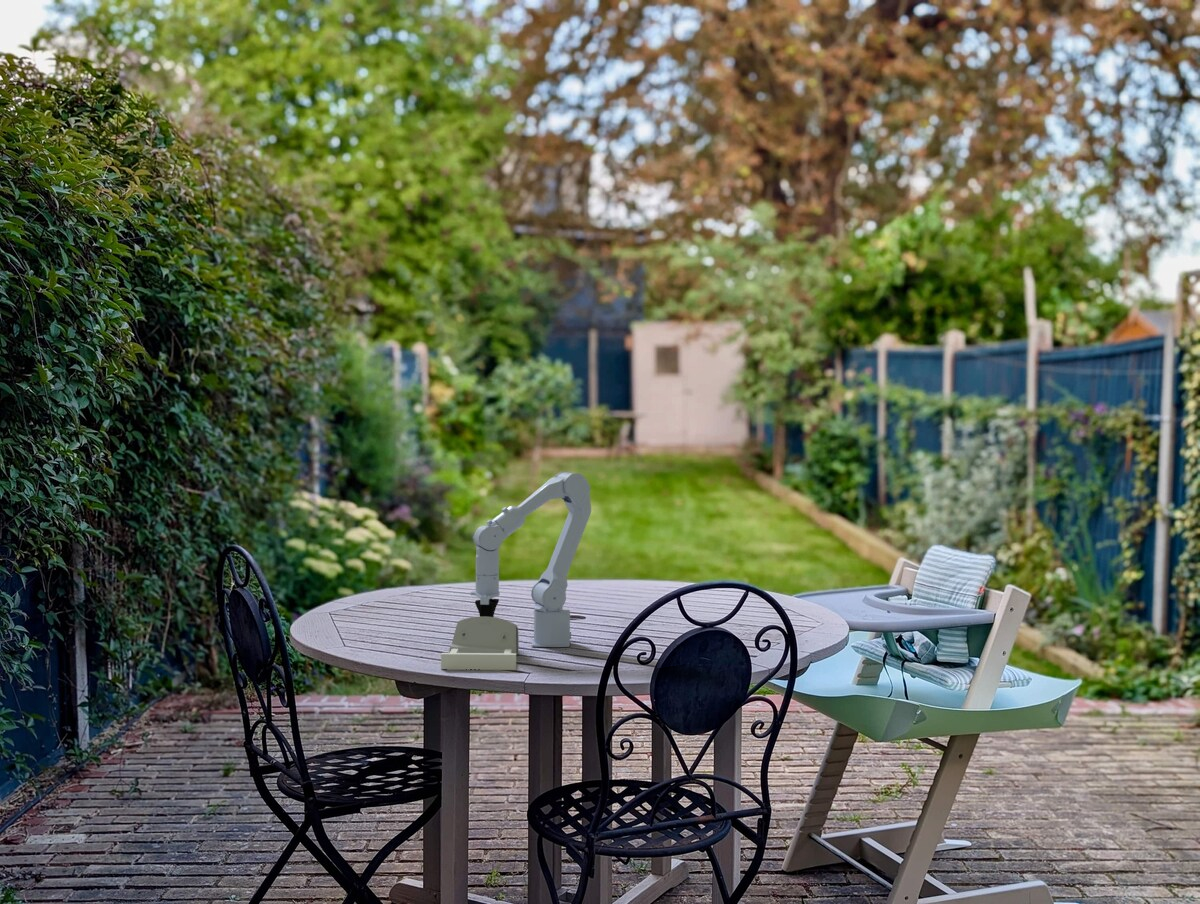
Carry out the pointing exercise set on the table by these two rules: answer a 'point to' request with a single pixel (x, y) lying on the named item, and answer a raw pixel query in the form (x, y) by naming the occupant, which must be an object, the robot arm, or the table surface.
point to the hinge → (485, 636)
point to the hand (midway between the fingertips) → (486, 629)
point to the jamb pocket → (478, 660)
